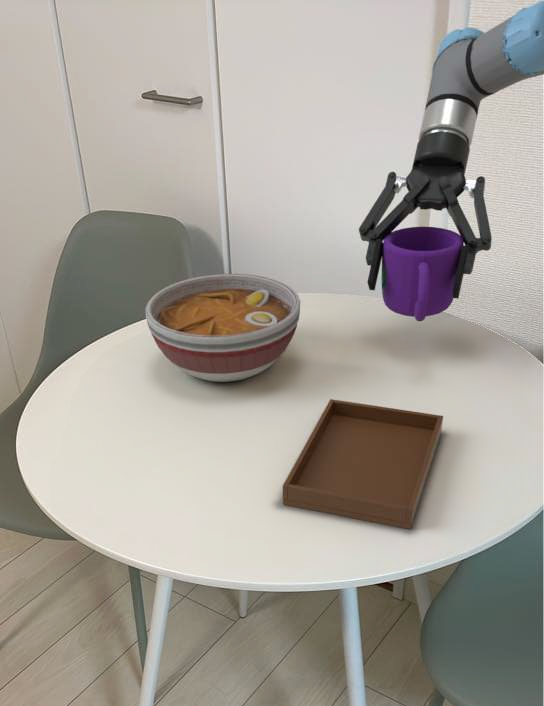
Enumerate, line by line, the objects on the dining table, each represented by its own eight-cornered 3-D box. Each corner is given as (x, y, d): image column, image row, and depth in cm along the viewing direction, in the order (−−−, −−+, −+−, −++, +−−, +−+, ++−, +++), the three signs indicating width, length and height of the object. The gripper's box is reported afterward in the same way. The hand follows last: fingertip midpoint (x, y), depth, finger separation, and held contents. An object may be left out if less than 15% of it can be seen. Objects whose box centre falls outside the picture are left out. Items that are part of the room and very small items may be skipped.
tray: (440, 434, 100) (443, 415, 98) (410, 529, 85) (412, 510, 83) (329, 416, 104) (330, 398, 102) (282, 504, 90) (282, 485, 88)
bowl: (318, 341, 122) (320, 281, 115) (271, 412, 106) (269, 346, 99) (189, 324, 128) (184, 266, 122) (127, 389, 113) (117, 326, 106)
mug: (379, 290, 119) (383, 225, 113) (453, 290, 118) (461, 224, 111) (377, 339, 106) (382, 269, 100) (460, 340, 105) (470, 268, 98)
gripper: (528, 163, 108) (497, 309, 108) (366, 156, 116) (336, 293, 115) (532, 131, 101) (499, 287, 101) (359, 125, 108) (327, 271, 108)
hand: (412, 290), depth 108 cm, fingers closed on mug, 11 cm apart
